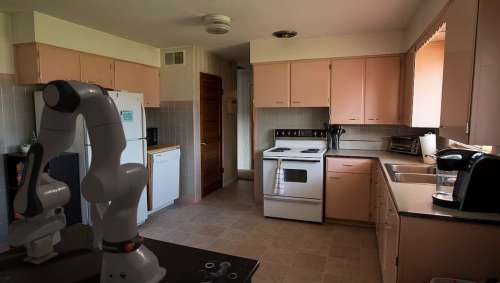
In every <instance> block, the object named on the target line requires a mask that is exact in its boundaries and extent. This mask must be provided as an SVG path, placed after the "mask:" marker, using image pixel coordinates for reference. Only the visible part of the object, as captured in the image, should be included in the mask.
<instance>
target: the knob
mask: <svg viewBox="0 0 500 283" xmlns="http://www.w3.org/2000/svg"><path fill="white" fill-rule="evenodd" d="M29 246H32V247H34V251H32V252H30V253H28V252H27V251H26V254H27V256H28V257H30V256H32V257H36V258H39V257H42V256H44V255H46V254H48V253H50V252H54V245H53V238H52V236H49V235H45V236H43V237H40V238H38V239H35V240H32V241H30V244H29Z"/></svg>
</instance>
